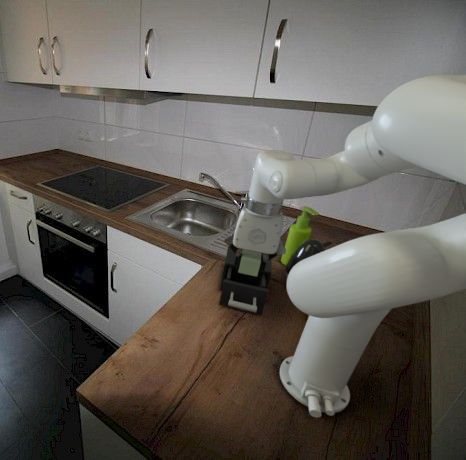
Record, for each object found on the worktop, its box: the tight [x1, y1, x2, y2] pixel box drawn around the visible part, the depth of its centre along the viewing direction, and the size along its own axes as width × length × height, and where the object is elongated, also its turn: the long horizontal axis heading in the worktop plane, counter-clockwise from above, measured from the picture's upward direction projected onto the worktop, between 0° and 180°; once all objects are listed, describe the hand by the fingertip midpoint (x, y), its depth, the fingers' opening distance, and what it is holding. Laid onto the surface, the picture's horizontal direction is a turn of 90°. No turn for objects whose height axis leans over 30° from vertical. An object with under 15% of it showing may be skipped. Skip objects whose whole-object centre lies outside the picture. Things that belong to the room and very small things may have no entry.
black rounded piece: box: [285, 238, 333, 279], centre depth 91 cm, size 10×10×15 cm
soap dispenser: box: [280, 205, 320, 267], centre depth 100 cm, size 6×7×20 cm
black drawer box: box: [219, 245, 273, 291], centre depth 93 cm, size 14×12×10 cm
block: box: [239, 250, 261, 277], centre depth 81 cm, size 4×4×4 cm
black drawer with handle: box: [218, 266, 270, 317], centre depth 85 cm, size 17×11×8 cm, turn 158°
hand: (248, 268), depth 81 cm, fingers closed on block, 4 cm apart
